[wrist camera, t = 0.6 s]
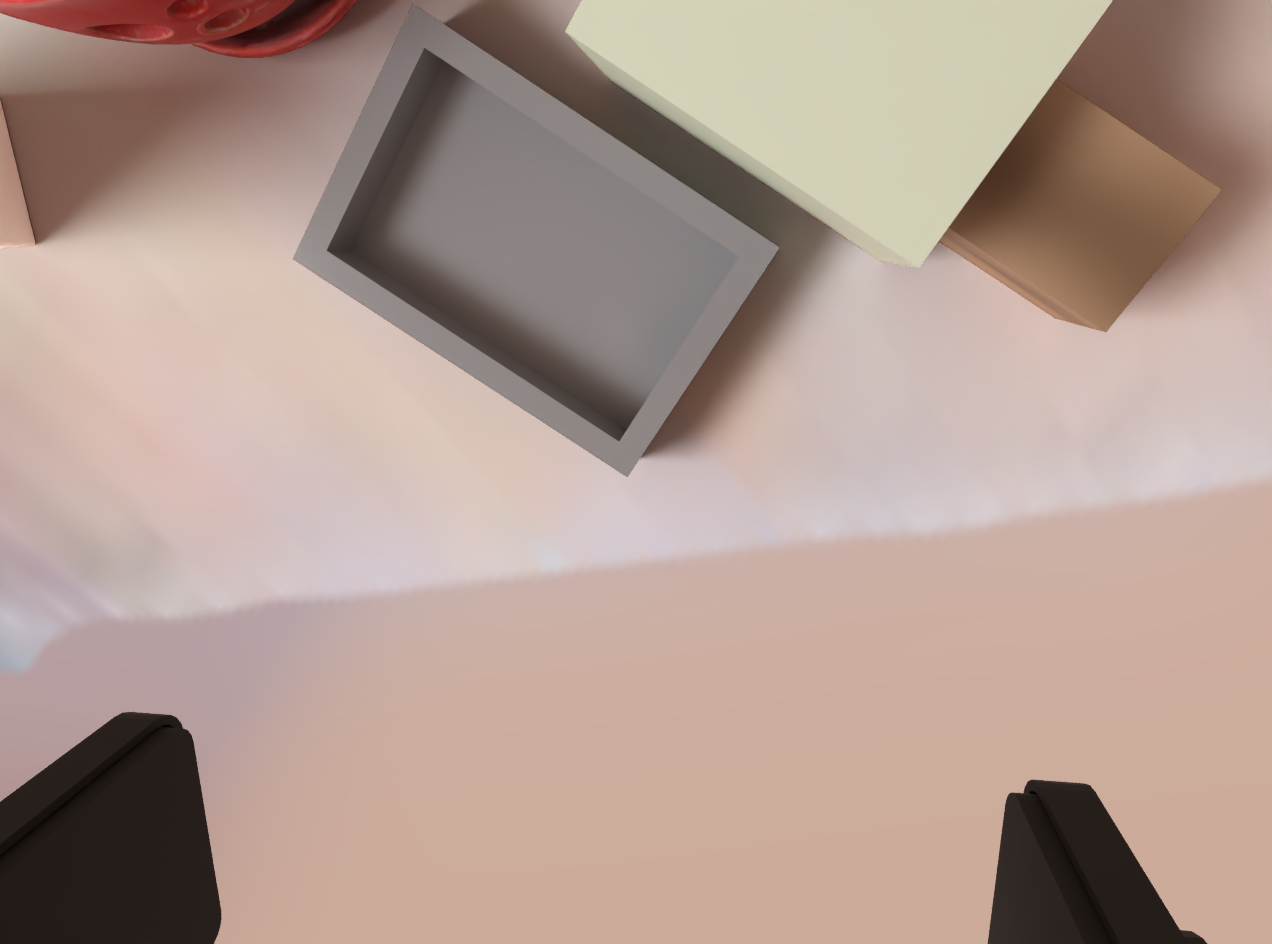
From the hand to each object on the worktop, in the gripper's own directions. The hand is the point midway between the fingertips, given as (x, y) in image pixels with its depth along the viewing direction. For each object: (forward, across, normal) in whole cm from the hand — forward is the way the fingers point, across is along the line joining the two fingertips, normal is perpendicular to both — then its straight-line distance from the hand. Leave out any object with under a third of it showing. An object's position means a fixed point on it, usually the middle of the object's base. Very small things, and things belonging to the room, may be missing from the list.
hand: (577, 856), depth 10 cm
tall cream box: (+26, -4, -13) cm, 29 cm away
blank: (+26, -10, -9) cm, 29 cm away
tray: (+26, +6, -6) cm, 27 cm away
